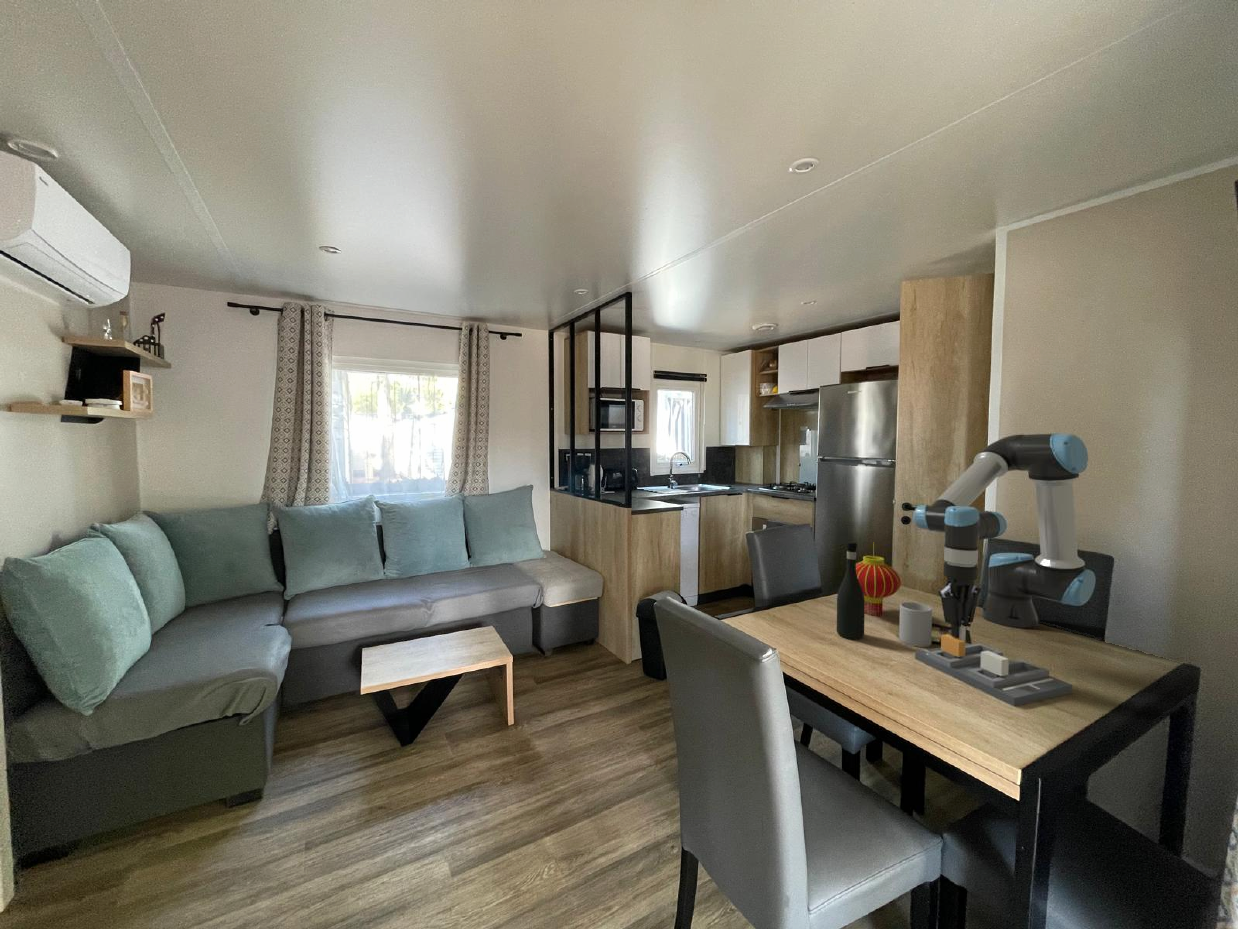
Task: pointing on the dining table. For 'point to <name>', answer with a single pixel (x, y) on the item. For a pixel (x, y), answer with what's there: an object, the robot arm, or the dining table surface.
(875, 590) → the lantern
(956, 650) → the block
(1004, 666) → the fader
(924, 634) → the mug
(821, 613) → the dining table surface
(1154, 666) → the dining table surface
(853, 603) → the wine bottle
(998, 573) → the robot arm
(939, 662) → the grey flat slotted tray
